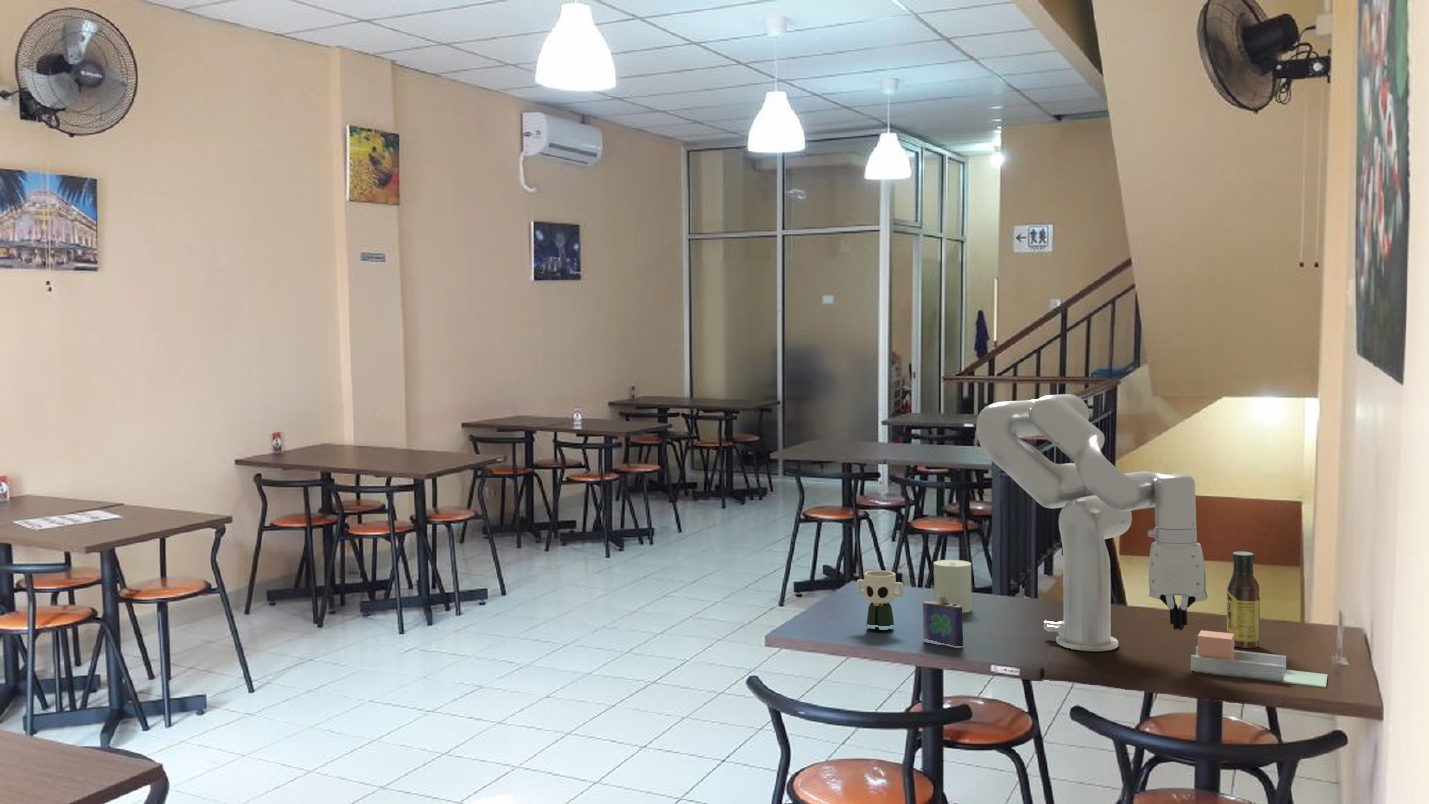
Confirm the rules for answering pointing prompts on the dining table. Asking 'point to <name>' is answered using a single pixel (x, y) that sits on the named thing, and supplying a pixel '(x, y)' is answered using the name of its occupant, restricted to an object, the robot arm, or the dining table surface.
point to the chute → (1243, 665)
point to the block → (1216, 644)
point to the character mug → (880, 596)
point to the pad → (1305, 678)
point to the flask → (943, 622)
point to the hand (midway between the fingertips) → (1178, 628)
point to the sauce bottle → (1243, 602)
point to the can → (953, 582)
